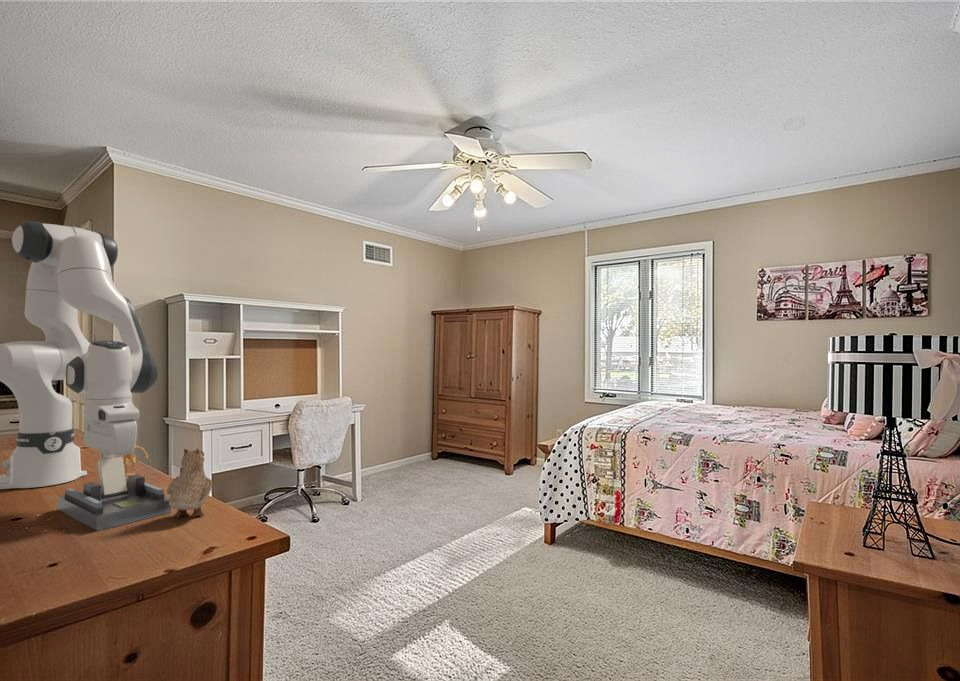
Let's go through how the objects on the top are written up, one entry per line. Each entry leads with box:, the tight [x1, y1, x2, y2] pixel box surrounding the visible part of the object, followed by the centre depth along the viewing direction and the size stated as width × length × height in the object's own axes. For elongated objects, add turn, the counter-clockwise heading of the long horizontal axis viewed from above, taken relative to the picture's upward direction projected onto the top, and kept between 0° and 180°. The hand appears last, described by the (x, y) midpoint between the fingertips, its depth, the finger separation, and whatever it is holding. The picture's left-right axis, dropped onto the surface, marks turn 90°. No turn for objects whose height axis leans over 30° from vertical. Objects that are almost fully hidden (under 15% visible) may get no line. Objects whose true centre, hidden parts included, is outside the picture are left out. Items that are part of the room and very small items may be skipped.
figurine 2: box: [166, 448, 213, 519], centre depth 109 cm, size 9×10×15 cm
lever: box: [96, 456, 128, 499], centre depth 113 cm, size 2×5×9 cm, turn 146°
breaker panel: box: [57, 473, 172, 532], centre depth 112 cm, size 23×14×7 cm, turn 56°
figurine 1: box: [122, 445, 149, 478], centre depth 131 cm, size 8×6×12 cm
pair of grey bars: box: [64, 478, 165, 513], centre depth 112 cm, size 19×13×2 cm
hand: (107, 469), depth 115 cm, fingers closed, pressing on lever
